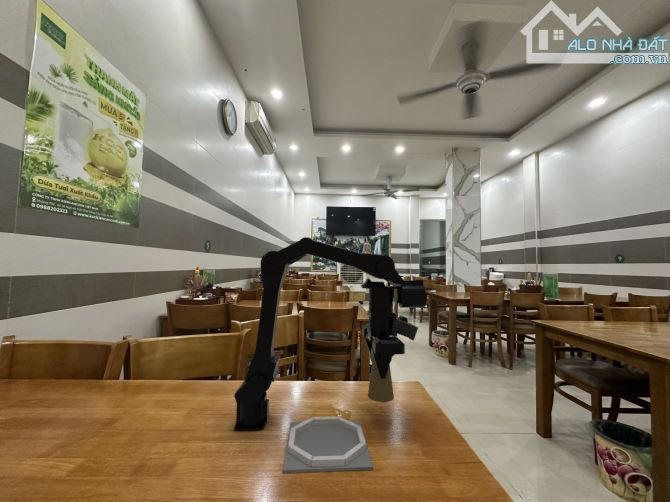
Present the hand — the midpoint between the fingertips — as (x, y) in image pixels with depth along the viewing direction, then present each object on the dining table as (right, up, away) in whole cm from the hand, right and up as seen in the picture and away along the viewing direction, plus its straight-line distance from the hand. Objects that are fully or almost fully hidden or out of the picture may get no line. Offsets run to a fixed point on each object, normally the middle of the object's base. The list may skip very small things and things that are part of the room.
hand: (380, 374), depth 69 cm
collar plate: (-12, -10, -9) cm, 19 cm away
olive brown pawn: (0, -5, 0) cm, 5 cm away
